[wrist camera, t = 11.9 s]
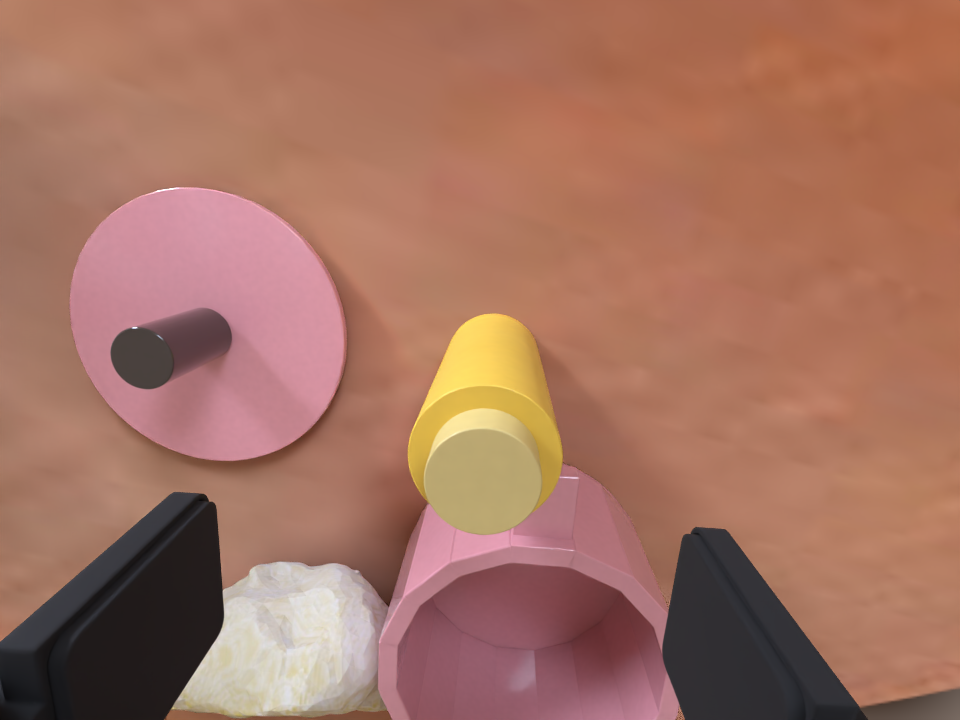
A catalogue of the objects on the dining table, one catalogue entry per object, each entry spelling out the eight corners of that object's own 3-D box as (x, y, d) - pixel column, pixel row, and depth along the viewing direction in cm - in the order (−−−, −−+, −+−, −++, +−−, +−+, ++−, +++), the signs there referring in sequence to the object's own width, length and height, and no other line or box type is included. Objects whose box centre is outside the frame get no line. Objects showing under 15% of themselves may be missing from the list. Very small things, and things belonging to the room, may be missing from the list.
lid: (103, 442, 29) (5, 497, 23) (69, 179, 26) (-58, 168, 20) (350, 461, 29) (312, 522, 23) (350, 198, 25) (305, 192, 19)
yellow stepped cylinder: (445, 398, 28) (395, 551, 15) (450, 310, 26) (399, 395, 14) (534, 405, 27) (559, 564, 15) (543, 317, 26) (578, 409, 14)
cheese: (466, 564, 32) (264, 510, 21) (468, 709, 29) (222, 736, 17) (289, 588, 39) (64, 557, 28) (272, 708, 35) (3, 727, 24)
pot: (406, 679, 32) (375, 825, 25) (415, 399, 28) (381, 470, 20) (615, 698, 32) (650, 852, 24) (660, 418, 27) (722, 498, 20)
